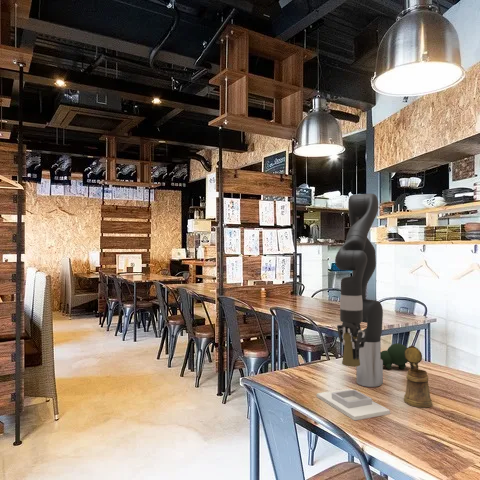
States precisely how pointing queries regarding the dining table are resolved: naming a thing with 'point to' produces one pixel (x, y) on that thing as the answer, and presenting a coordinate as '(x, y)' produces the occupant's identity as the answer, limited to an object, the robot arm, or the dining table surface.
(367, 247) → the robot arm
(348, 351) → the olive tall rounded piece
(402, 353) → the toy figurine
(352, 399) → the board
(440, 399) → the dining table surface
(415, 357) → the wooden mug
